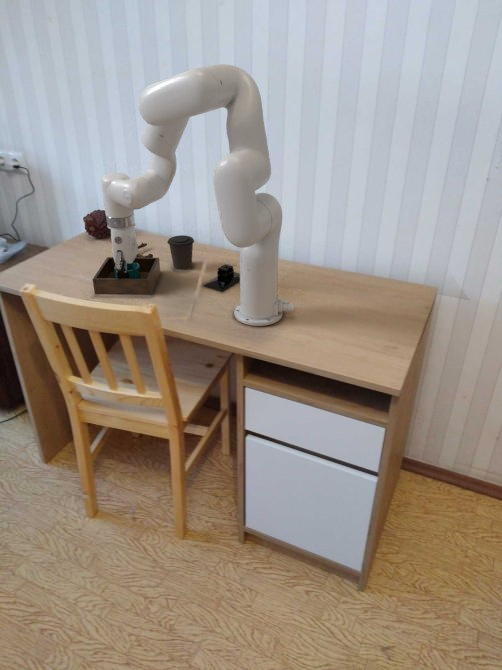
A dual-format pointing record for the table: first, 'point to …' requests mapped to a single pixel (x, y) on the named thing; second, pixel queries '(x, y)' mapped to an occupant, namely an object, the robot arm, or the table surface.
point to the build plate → (224, 279)
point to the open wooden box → (111, 285)
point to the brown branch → (142, 255)
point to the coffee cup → (181, 251)
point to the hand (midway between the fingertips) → (128, 278)
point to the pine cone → (96, 224)
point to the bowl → (132, 270)
